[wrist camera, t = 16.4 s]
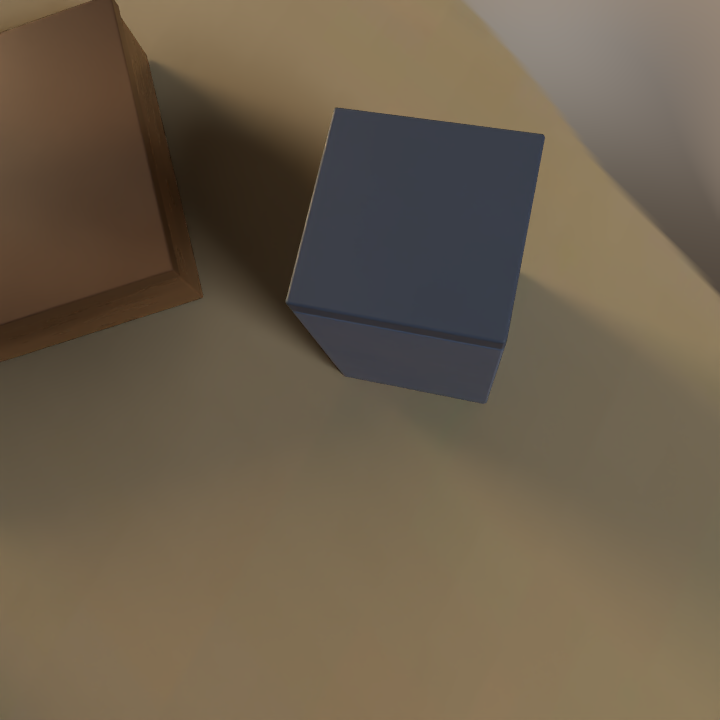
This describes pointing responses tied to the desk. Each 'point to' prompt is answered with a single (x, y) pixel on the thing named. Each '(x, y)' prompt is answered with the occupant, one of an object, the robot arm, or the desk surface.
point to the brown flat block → (84, 183)
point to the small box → (415, 249)
